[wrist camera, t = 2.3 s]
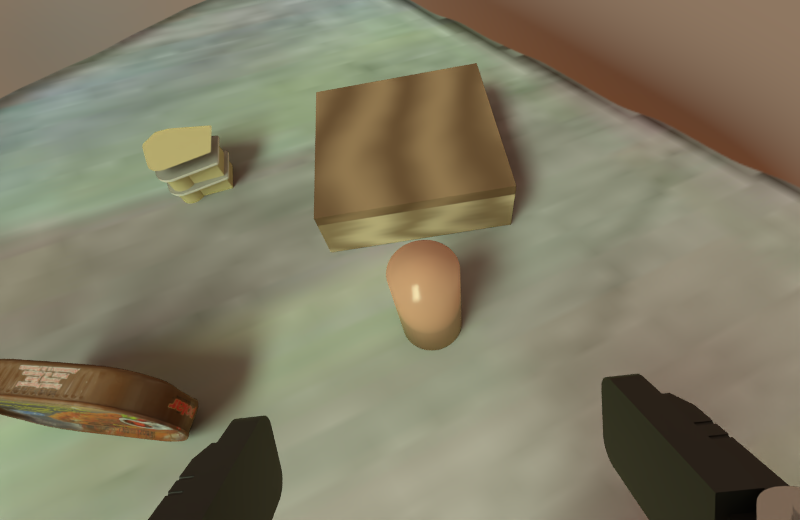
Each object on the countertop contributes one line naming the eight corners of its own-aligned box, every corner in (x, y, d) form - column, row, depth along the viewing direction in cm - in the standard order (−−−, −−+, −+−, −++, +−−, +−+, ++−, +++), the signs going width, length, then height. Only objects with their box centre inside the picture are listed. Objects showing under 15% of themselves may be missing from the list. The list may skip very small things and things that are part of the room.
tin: (36, 426, 33) (-83, 400, 26) (57, 385, 35) (-49, 350, 27) (210, 447, 30) (132, 424, 23) (225, 402, 32) (155, 367, 25)
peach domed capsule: (456, 291, 34) (453, 235, 27) (466, 345, 32) (466, 298, 25) (400, 299, 34) (383, 245, 28) (405, 354, 32) (389, 309, 25)
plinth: (475, 105, 45) (476, 63, 41) (510, 224, 37) (516, 185, 32) (330, 131, 46) (316, 92, 42) (331, 252, 38) (313, 218, 33)
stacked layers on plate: (250, 144, 48) (226, 103, 43) (253, 202, 43) (226, 164, 38) (164, 167, 47) (131, 129, 43) (157, 229, 43) (119, 193, 38)
